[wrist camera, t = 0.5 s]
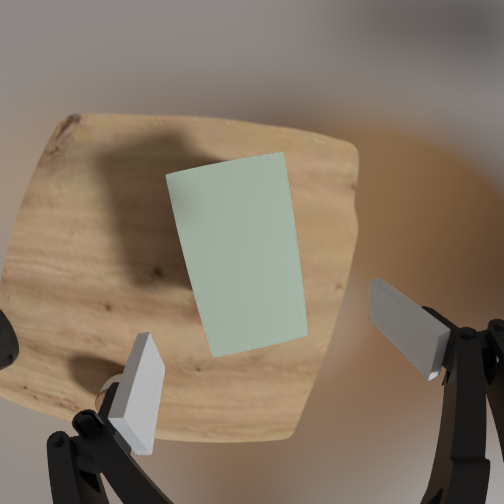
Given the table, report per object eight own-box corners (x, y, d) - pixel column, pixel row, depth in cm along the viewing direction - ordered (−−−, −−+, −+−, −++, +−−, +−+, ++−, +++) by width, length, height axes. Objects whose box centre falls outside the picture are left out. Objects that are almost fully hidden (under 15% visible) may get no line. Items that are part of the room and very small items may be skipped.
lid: (299, 320, 34) (308, 335, 31) (212, 340, 33) (213, 357, 30) (275, 154, 28) (283, 151, 25) (170, 174, 27) (165, 174, 24)
